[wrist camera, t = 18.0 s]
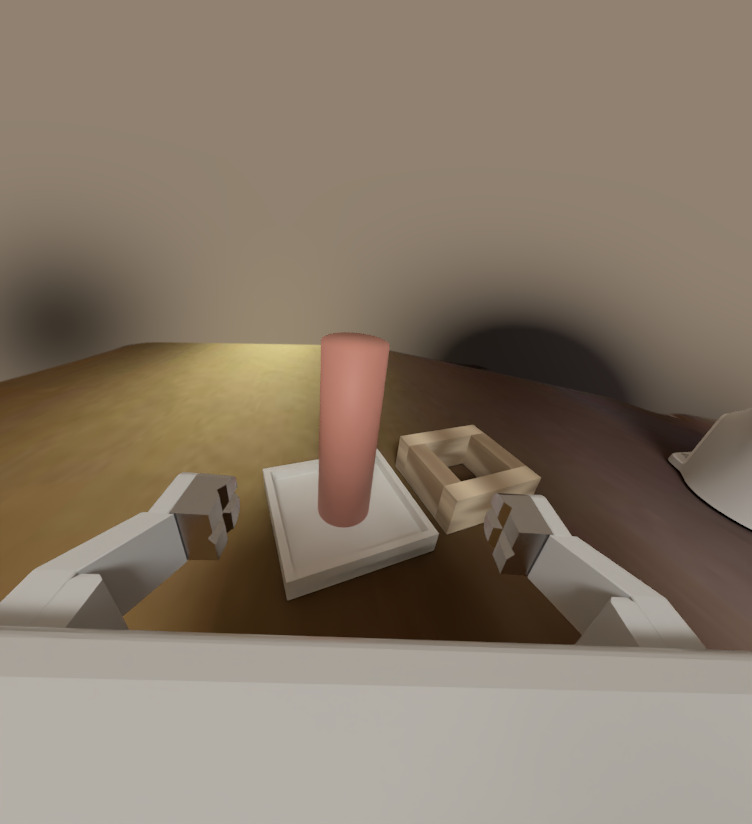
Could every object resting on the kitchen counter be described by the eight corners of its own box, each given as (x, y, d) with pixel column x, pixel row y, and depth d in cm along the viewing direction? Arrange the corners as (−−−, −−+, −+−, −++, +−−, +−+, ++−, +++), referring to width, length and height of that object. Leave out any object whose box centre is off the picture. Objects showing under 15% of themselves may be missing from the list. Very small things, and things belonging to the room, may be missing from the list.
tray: (375, 463, 36) (377, 449, 35) (434, 550, 26) (438, 533, 25) (264, 485, 31) (262, 468, 30) (286, 601, 21) (286, 582, 20)
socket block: (465, 451, 40) (473, 424, 38) (527, 508, 32) (541, 477, 30) (395, 465, 36) (400, 436, 34) (446, 534, 28) (457, 501, 26)
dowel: (357, 485, 31) (373, 332, 24) (376, 519, 27) (401, 351, 20) (312, 495, 29) (313, 332, 22) (326, 533, 25) (333, 354, 18)
